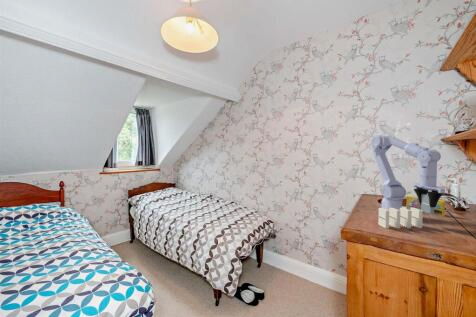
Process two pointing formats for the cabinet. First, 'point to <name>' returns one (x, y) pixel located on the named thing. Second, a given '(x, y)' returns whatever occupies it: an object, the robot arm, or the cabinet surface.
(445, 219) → the cabinet surface
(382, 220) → the ivory domino
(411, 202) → the candy box
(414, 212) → the ivory domino
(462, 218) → the cabinet surface
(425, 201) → the slate domino
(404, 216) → the ivory domino
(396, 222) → the ivory domino
